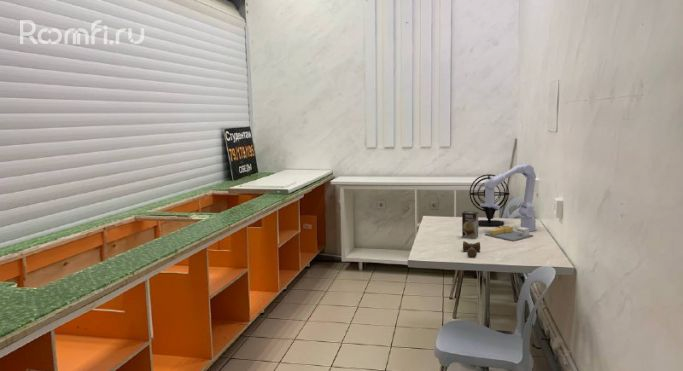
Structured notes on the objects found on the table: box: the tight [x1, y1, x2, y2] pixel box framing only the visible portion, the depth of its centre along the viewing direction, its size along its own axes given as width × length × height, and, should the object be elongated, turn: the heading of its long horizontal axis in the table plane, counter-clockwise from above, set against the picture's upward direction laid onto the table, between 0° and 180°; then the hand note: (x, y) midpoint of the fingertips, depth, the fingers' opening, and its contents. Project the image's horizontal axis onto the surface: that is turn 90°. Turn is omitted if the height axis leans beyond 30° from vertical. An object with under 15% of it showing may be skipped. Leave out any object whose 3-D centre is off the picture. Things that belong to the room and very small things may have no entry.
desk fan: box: [469, 173, 511, 227], centre depth 351 cm, size 27×18×35 cm, turn 75°
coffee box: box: [461, 211, 479, 240], centre depth 318 cm, size 9×6×16 cm
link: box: [489, 225, 514, 235], centre depth 322 cm, size 16×6×3 cm, turn 123°
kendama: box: [462, 240, 481, 258], centre depth 283 cm, size 6×10×20 cm
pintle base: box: [484, 224, 534, 242], centre depth 317 cm, size 19×22×5 cm
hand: (489, 218), depth 327 cm, fingers closed
